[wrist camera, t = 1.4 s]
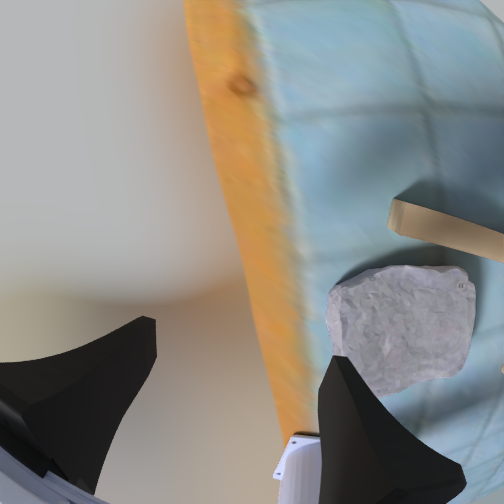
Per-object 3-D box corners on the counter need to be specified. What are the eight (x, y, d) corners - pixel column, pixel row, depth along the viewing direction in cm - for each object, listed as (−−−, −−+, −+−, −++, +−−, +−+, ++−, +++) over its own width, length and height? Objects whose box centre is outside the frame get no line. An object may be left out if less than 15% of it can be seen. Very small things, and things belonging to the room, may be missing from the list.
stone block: (316, 272, 22) (331, 385, 22) (321, 282, 17) (337, 416, 18) (449, 244, 20) (453, 353, 20) (480, 247, 15) (478, 374, 16)
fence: (510, 369, 19) (525, 388, 16) (344, 360, 21) (350, 390, 18) (556, 256, 16) (578, 267, 12) (392, 198, 18) (413, 204, 14)
